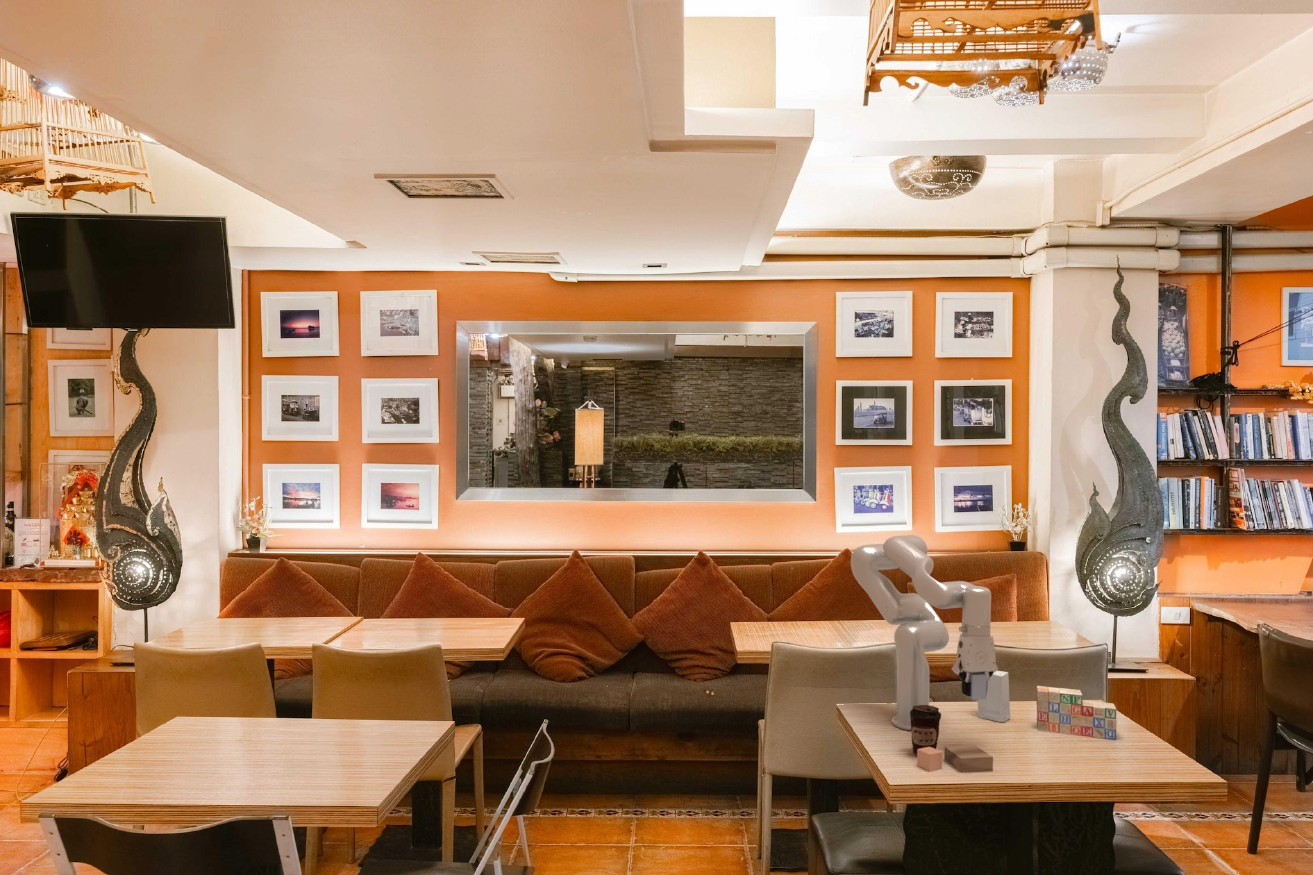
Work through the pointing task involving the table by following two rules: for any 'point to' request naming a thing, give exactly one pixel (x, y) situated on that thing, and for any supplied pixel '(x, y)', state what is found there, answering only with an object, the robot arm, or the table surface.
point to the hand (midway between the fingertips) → (974, 693)
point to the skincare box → (996, 698)
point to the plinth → (968, 758)
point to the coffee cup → (924, 726)
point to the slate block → (978, 686)
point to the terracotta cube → (929, 758)
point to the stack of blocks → (1074, 714)
